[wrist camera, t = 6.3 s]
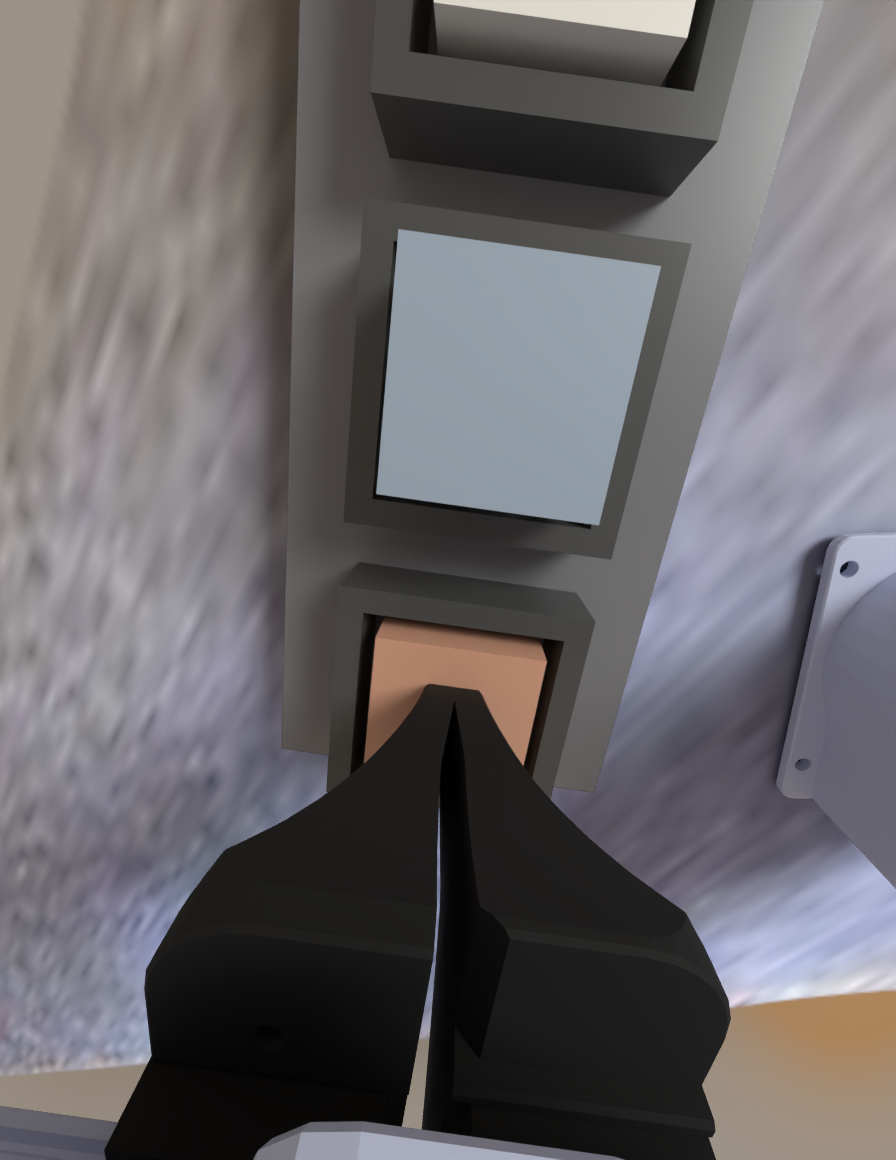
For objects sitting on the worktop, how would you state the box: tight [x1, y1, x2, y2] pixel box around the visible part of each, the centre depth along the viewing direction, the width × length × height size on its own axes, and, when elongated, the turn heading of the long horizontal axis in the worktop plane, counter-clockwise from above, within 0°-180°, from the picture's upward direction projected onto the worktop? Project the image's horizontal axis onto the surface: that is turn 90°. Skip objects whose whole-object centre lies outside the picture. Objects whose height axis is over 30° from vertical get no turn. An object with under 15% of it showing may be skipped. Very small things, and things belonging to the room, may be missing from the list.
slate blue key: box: [376, 229, 661, 525], centre depth 9 cm, size 4×4×2 cm
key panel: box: [282, 0, 824, 808], centre depth 11 cm, size 22×10×4 cm, turn 172°
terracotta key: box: [364, 616, 547, 766], centre depth 12 cm, size 4×4×2 cm
